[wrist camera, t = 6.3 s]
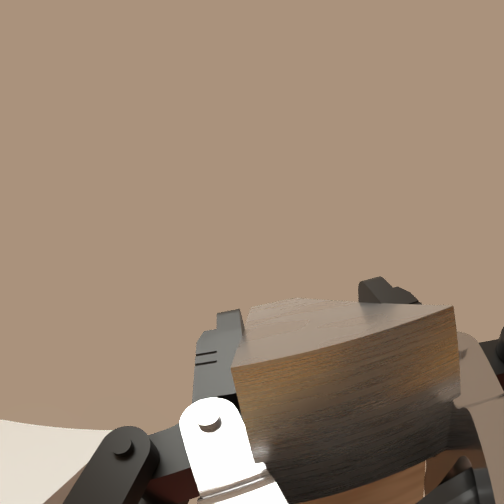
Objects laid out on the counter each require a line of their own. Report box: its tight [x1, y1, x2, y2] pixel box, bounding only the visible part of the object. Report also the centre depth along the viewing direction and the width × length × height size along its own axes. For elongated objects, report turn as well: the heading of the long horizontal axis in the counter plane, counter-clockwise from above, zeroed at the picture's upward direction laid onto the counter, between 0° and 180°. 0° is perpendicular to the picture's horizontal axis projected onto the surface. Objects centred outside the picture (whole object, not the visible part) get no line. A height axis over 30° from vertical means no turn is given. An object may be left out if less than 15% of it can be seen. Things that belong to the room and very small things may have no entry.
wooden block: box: [231, 298, 461, 504], centre depth 16 cm, size 23×4×3 cm, turn 179°
